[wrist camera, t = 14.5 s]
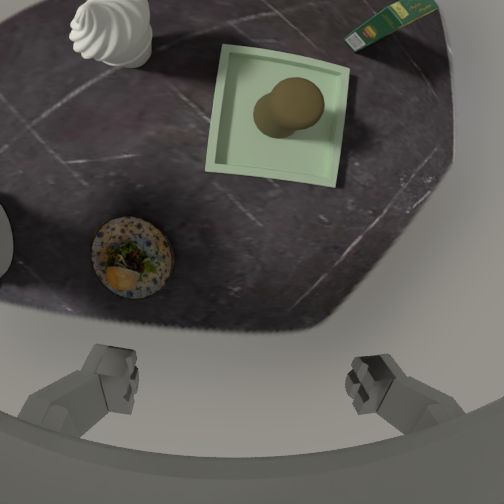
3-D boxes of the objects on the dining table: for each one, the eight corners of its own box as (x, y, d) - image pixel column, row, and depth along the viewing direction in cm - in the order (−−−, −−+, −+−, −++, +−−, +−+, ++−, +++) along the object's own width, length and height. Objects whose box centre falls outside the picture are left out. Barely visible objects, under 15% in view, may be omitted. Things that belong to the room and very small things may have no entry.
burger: (192, 246, 39) (187, 267, 32) (147, 309, 41) (137, 338, 34) (118, 194, 35) (97, 204, 28) (80, 263, 38) (58, 285, 31)
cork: (310, 121, 34) (346, 111, 24) (272, 148, 35) (294, 146, 25) (282, 83, 32) (308, 58, 22) (242, 109, 33) (253, 91, 23)
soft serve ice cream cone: (152, 16, 28) (120, -47, 13) (178, 60, 31) (154, 5, 16) (97, 50, 28) (39, 6, 13) (121, 95, 31) (63, 64, 16)
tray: (205, 170, 36) (205, 171, 34) (222, 49, 31) (222, 43, 29) (329, 185, 38) (335, 187, 36) (343, 72, 33) (349, 68, 31)
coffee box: (353, 55, 32) (404, 26, 20) (340, 39, 31) (387, 4, 19) (388, 35, 31) (441, 7, 19) (376, 20, 30) (426, -12, 18)
